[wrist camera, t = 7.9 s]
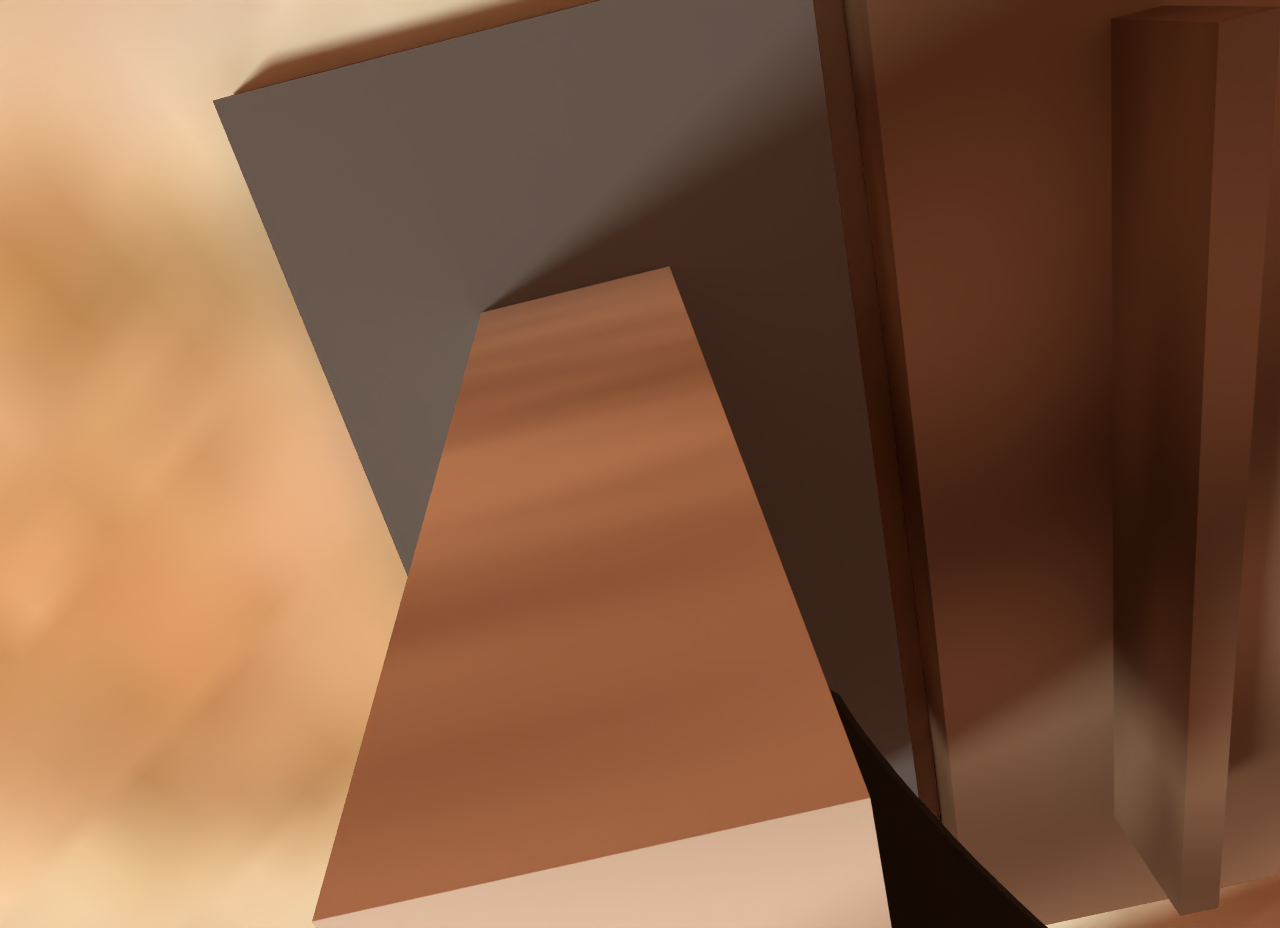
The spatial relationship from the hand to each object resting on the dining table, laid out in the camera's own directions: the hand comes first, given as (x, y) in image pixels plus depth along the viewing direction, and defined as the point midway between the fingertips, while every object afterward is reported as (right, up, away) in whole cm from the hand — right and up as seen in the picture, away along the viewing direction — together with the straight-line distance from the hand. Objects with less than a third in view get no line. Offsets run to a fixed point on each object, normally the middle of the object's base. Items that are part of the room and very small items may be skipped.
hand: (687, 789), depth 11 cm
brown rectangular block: (0, +2, +4) cm, 4 cm away
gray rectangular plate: (0, +2, +4) cm, 5 cm away
